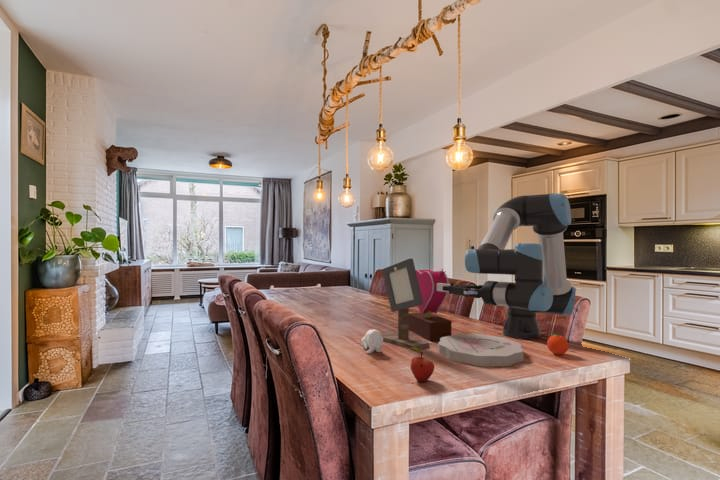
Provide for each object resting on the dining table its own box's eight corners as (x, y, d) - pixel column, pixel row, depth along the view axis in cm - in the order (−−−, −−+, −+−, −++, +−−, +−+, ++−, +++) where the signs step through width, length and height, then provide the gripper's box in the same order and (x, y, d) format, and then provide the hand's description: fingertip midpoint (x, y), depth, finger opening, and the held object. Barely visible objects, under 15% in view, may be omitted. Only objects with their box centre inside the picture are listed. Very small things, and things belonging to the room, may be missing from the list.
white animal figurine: (368, 331, 136) (356, 327, 147) (369, 355, 135) (356, 349, 146) (384, 329, 139) (370, 326, 150) (385, 353, 138) (371, 348, 149)
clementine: (540, 351, 141) (540, 332, 141) (556, 350, 142) (556, 331, 142) (557, 357, 133) (556, 337, 133) (573, 356, 135) (573, 336, 135)
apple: (426, 375, 116) (426, 342, 116) (438, 383, 109) (438, 348, 110) (404, 378, 113) (403, 345, 113) (415, 386, 107) (414, 351, 107)
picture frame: (423, 304, 143) (412, 258, 147) (419, 305, 141) (408, 258, 146) (395, 311, 155) (385, 269, 159) (390, 312, 153) (381, 269, 158)
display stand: (429, 346, 147) (429, 265, 148) (415, 350, 142) (415, 266, 142) (389, 335, 164) (389, 263, 165) (376, 338, 159) (376, 264, 159)
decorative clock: (455, 340, 156) (455, 268, 156) (433, 343, 153) (432, 268, 153) (427, 327, 180) (427, 264, 180) (407, 329, 177) (407, 265, 177)
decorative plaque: (431, 333, 155) (505, 333, 154) (431, 342, 155) (505, 342, 154) (447, 355, 125) (538, 356, 124) (447, 366, 125) (539, 367, 124)
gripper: (486, 307, 114) (426, 299, 132) (509, 303, 122) (449, 296, 140) (486, 282, 114) (426, 277, 132) (509, 280, 122) (449, 275, 140)
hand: (438, 287), depth 136 cm, fingers closed
